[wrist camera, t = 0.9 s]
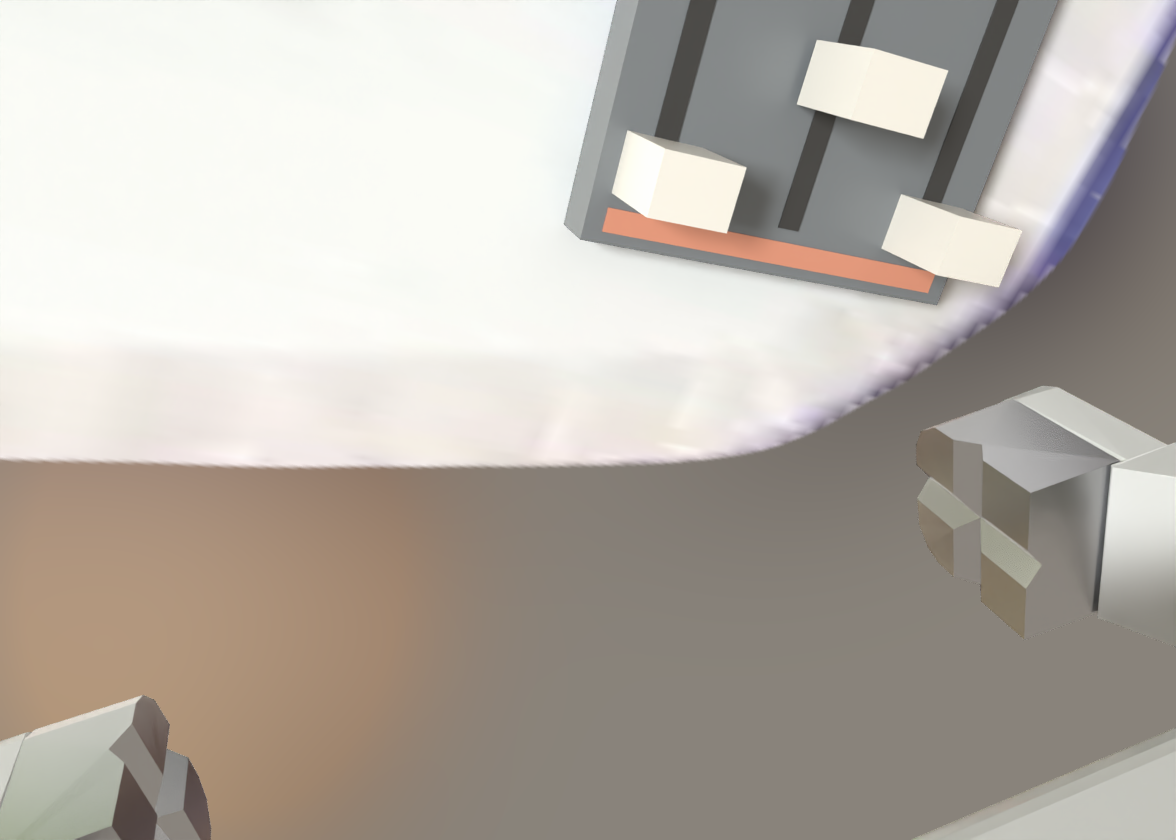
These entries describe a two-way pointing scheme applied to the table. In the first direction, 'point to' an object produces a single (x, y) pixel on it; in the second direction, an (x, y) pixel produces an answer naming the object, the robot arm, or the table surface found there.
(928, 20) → the breaker panel
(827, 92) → the handle
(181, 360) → the table surface
